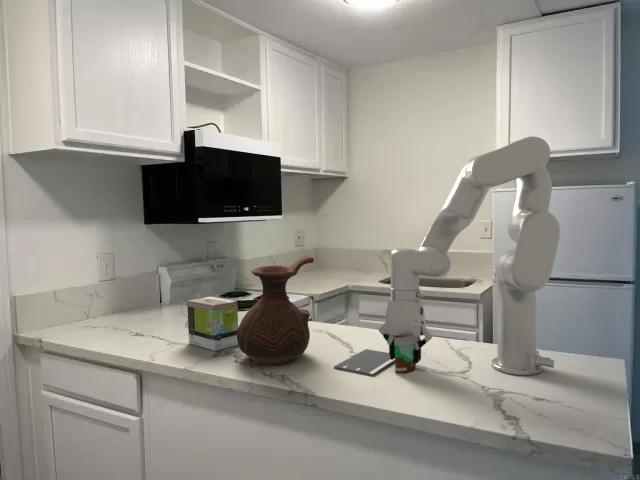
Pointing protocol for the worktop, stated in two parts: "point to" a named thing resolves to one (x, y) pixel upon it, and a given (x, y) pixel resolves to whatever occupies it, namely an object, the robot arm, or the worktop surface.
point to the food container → (404, 354)
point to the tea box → (213, 322)
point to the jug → (275, 319)
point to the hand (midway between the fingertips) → (404, 359)
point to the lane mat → (366, 362)
